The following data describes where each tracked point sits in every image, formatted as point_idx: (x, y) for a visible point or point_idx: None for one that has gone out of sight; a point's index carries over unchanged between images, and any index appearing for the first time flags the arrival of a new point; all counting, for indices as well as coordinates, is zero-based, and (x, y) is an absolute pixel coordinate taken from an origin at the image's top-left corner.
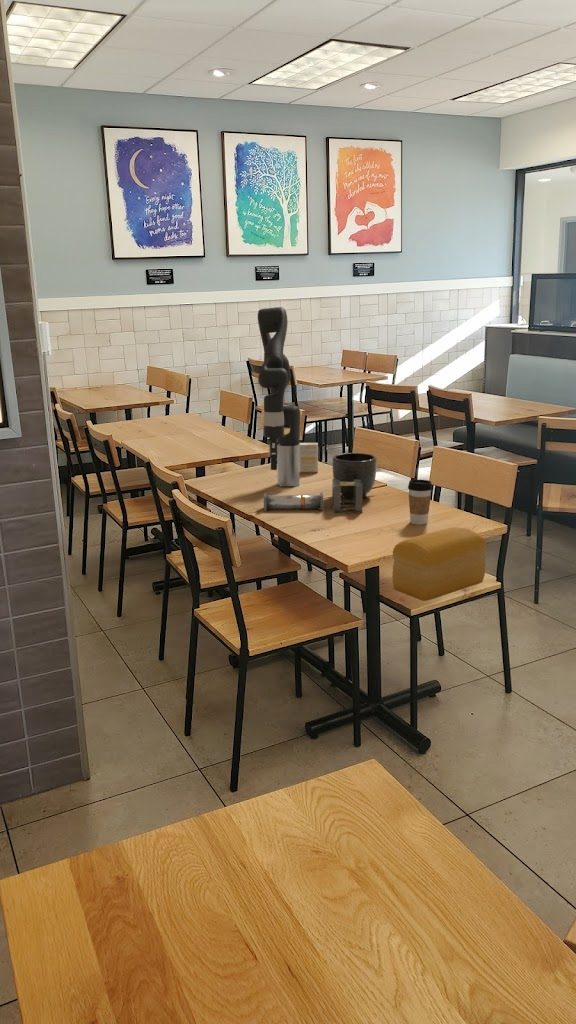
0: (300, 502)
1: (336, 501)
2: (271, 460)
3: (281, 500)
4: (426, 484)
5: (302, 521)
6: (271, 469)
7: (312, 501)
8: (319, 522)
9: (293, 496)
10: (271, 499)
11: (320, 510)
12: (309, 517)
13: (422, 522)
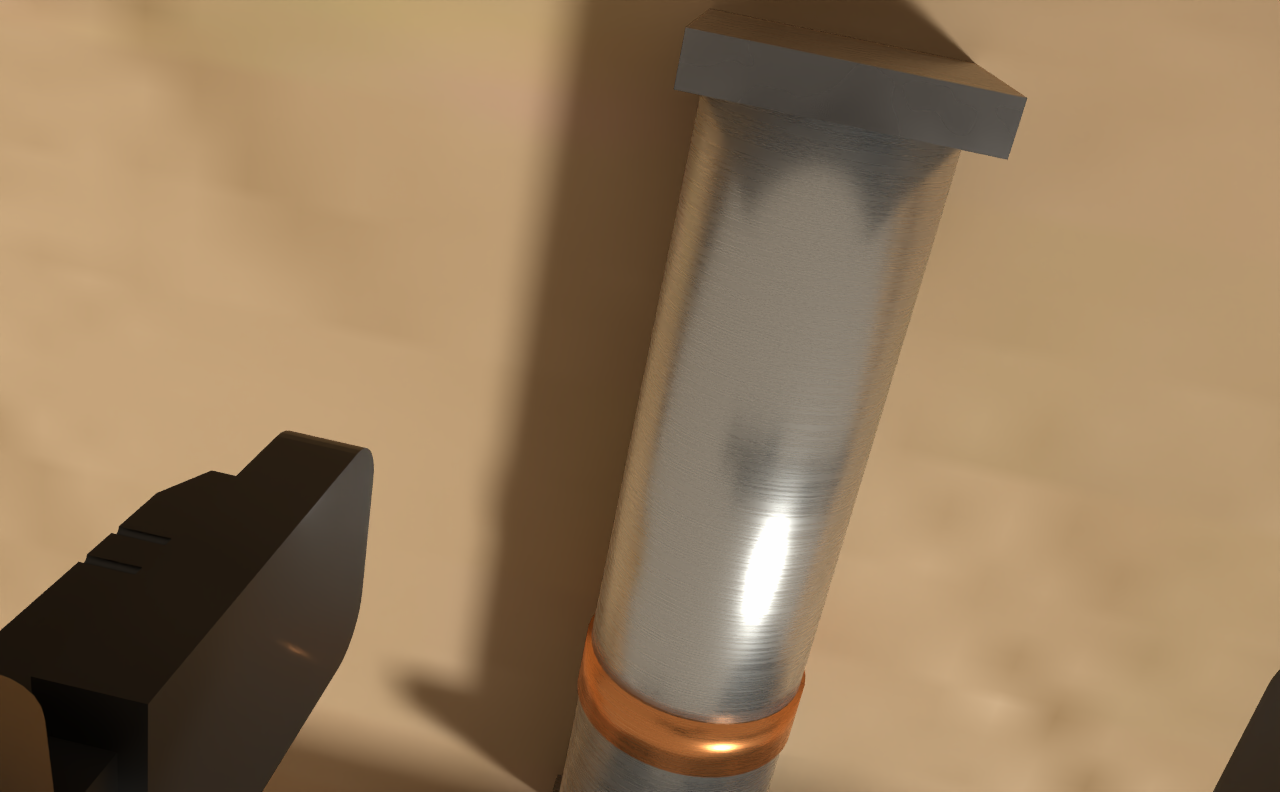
0: (590, 629)
1: None
2: (53, 694)
3: (655, 366)
4: None
5: (87, 454)
6: (284, 443)
7: (563, 786)
8: None
9: (673, 598)
10: (705, 192)
11: (557, 778)
12: None
13: None
